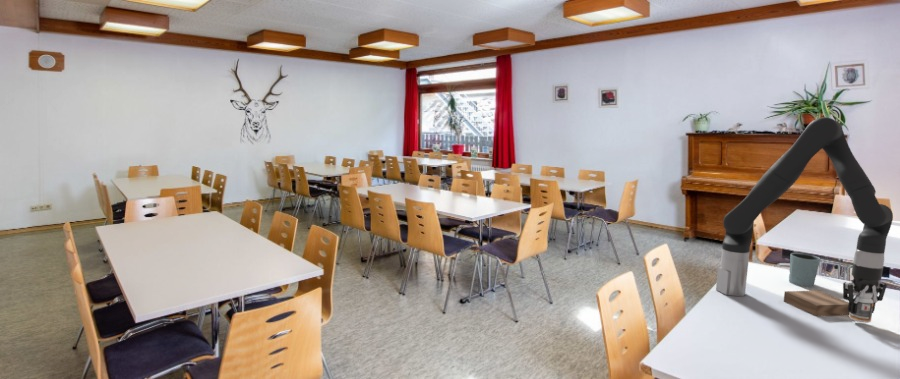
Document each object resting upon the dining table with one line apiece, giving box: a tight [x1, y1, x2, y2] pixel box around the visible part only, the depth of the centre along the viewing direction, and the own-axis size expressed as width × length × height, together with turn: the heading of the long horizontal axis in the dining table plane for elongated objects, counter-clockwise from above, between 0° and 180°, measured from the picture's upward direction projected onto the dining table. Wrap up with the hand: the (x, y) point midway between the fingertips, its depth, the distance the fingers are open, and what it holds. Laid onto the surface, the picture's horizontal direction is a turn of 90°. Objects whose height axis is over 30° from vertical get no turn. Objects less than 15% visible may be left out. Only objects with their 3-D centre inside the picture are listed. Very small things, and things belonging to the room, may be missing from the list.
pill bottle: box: [848, 291, 874, 324], centre depth 161 cm, size 6×6×10 cm
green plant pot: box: [788, 252, 821, 288], centre depth 202 cm, size 10×10×12 cm
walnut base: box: [783, 290, 849, 317], centre depth 175 cm, size 14×14×4 cm
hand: (860, 312), depth 161 cm, fingers closed on pill bottle, 5 cm apart
